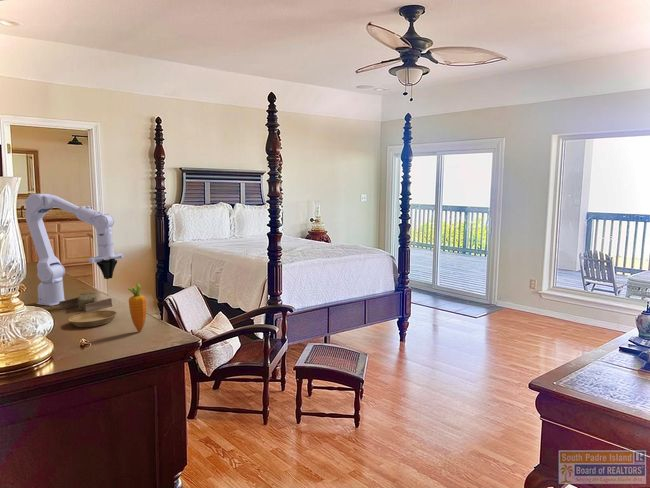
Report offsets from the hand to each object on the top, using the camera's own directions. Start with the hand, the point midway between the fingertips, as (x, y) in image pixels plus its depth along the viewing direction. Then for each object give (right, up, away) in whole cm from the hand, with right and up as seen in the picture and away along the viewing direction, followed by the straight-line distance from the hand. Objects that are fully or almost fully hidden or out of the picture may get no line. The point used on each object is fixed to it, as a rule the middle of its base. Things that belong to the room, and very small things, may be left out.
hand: (108, 278), depth 190 cm
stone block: (-4, -11, -8) cm, 14 cm away
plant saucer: (+9, -13, -30) cm, 34 cm away
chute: (-5, -11, -8) cm, 14 cm away
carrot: (+29, -14, -43) cm, 54 cm away
